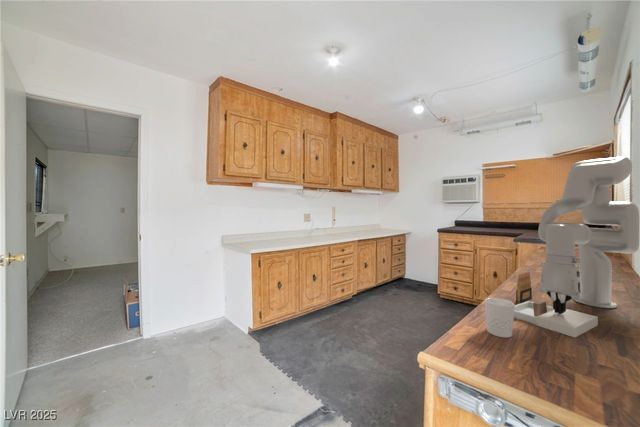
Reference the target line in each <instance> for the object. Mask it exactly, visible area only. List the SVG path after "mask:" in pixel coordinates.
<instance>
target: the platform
mask: <svg viewBox="0 0 640 427" xmlns="http://www.w3.org/2000/svg"><path fill="white" fill-rule="evenodd" d="M598 317H599V316H596V315H592V314H588V313H584V312H580V311H576V310H572V309H567V308H566V311H565V312H564V313H562V314H559V313H555V310H552V311H550V312H547V313H545V314H542V315H539V316H537V325H536V326H537V327H541V328H543V329H547V330H549V331H550V330H551V331H554V332H556V333H559V334H562V335H566V336H569V337H572V338H577V337H579V336H581V335H583V334H584V333H586V332H588V331H590V330H592V329H594V328H596V327H597V326H598V325H599V324H598V322H599V320H598V319H599V318H598Z"/></svg>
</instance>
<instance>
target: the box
mask: <svg viewBox="0 0 640 427" xmlns="http://www.w3.org/2000/svg"><path fill="white" fill-rule="evenodd" d="M533 303H534V301H531V300H528V301H526V302H523V303H518V304H515V307H514V319H517V320H520V321H524V322H527V323H529V324H532V325H536V326H537V317H536V316H534V309H533ZM546 306H547V312H550V311H552V310H555V309H553V306H549V305H546Z"/></svg>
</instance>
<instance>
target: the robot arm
mask: <svg viewBox="0 0 640 427" xmlns="http://www.w3.org/2000/svg"><path fill="white" fill-rule="evenodd" d="M632 171H633V163H632V160H630V158H628V157H627V156H616V157H615V156H614V157H607V158H595V159H588V160H586V159H585V160H582V161H577V162H575V163H572V164H571V165H570V167H569V171H568V174H567V177H566V181H565V185H564V189H563V192H562V197H561V198H559V199H558V200H556V201H555V202H553V203H552V204H550V206H548V207H547V208H546V209H545V211H543V213H542V216H541V218H540V222H539V224H538V231H537V234H538V237H539V239H540V240H541V241H543V242H545V261H543V264H542V265H541V266H542V267H541V272H540V278H539V279H540V280H539V283H540V285H539V286H540V292H541V293H544V294H546V295H548V297H550V299H551V301H552V307H553V309H555V313H559V314H562V313H564V312H565V311H566V309H567V302H568V301H571V300H573V301H575V302H577V303H579V304H582V305H585V306H591V307H594V308H595V307H596V308H604V309H615V308H617V306H618V304H617V303H616V302H614V301H612V273H613V272H612V270H613V266H612V265H613V264H612V261H611V259H610V258H609V257H608V256H607V255H606V254H605V253H615V254H616V253H617V254H626V255H627V254H628V255H629V254H635V253H636V252H637V251H638V250H639V248H640V211H639V207H638V206H637V205H636V203H634V202H631V201H612V199H611V198H612V197H611V196H612V194H611V193H612V190H611V188H610V187H609V186H611V185H612V186H613V185H619V184H620V183H622V182H623V181H625V180H626V179H627V178H628V177H629V176H630V175H631V173H632ZM578 210H581V218H582V221H583V223H579V222H577V223H573V222H555V220H556V219H557V218H560V217H562V216H563V215H565V214H568V213H571V212H573V211H574V212H575V211H578ZM584 223H585V224H584ZM587 224H588V225H596V226H598V225H599V226H618V227H619V228H605V227H600V228H599V227H589V226H588V225H587ZM576 245H577V247H578V248H577V249H578V258H577V256H576ZM577 263H578V265H577ZM559 294H561V295H559Z"/></svg>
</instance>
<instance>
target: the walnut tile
mask: <svg viewBox="0 0 640 427" xmlns="http://www.w3.org/2000/svg"><path fill="white" fill-rule="evenodd" d="M533 302H534V301H533ZM547 306H548V305H547V301H543V300H538V301H535V302H534V303H533V309H534V316H536V317H537V316H539V315H542V314H545V313H547Z"/></svg>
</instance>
